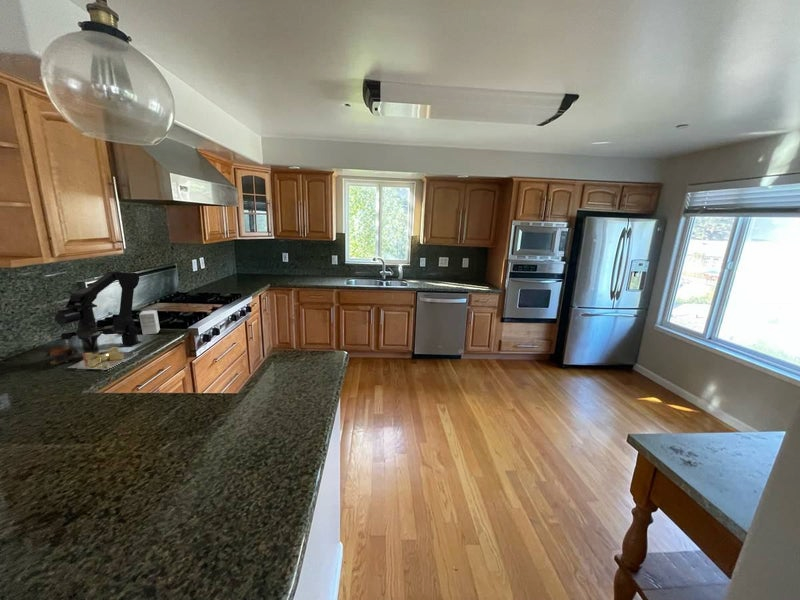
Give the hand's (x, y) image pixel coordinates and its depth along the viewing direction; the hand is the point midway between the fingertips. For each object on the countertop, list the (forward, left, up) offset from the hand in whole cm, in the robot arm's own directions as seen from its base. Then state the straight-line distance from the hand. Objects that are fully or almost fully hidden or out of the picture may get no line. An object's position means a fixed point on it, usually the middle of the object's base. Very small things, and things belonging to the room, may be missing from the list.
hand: (93, 348), depth 158 cm
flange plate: (+3, +7, -5) cm, 10 cm away
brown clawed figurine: (+3, -12, -5) cm, 14 cm away
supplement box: (-38, -1, -5) cm, 38 cm away
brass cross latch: (+3, +7, -4) cm, 9 cm away
